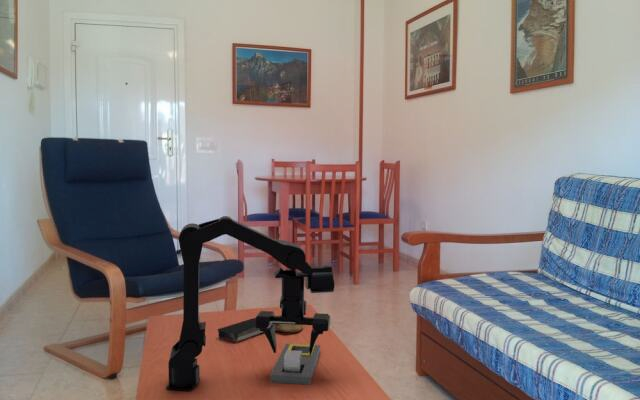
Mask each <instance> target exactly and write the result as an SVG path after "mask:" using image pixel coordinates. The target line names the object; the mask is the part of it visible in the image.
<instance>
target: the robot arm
mask: <svg viewBox="0 0 640 400" xmlns="http://www.w3.org/2000/svg"><path fill="white" fill-rule="evenodd" d="M225 235H227V236H229V237H231V238H234V239H235V240H238V241H240V242H242V243H244V244H247V245H249V246H251V247H252V248H255V249H257V250H260V251H262V252H264V253H266V254H268V255H269V256H271V257H272V258H273V259H274V260H276V261H277V262H278V263H280V264H281V265H282V266H283V267H284V266H285V267H286V268H287V269H284V268H283V267H282V266H279V267H278V269H276V271H275V272H273V275H274V278H275V279H281V296H280V301H279V308H280V309H281V315H282V316H278V315H275V312H274V311H270V310H267V311H266V310H260V311H259V312H258V314H256V316H255V317H254V318H255V328H260V331H263V332H262V333H263V334H264V336H265V337H266V339H267V341H268V342H269V345H270V347H271V349H272V352H273V354H277V336H276V330H275V324H295V325H303V326H312V327H311V328H312V329H311V332H310V338H309V339H310V340H309V345H310V348H309V354H310V355H311V354H312V350H313V347H314V345H316V344H315V343H316V342H317V339H318V337H319V335H323V334H324V332H328V331H329V329H330V326H331V316H330V314H328V313H319V312H318V313H317V312H316V313H314V315H313V317H308V316H307V315H306V314H307V301H306V300H305V288H306V290H309V292H310V294H316V293H317V294H320V293H323V294H324V293H334V291H335V280H334V273H333V267H332V266H331V265H329V264H326V265H321V266H312V265H311V264H310V263H309V262H307V260H306V259H307V258H306V257H307V256H306V254H305V251H304V250H303V249H302V247H301V246H300V245H298V244H297V243H295V242H291V241H287V240H283V239H278V238H273V237H271V236H268V235H267V234H265V233H262V232H260V231H258V230H256V229H254V228H251V227H250V226H247V225H245V224H243V223H241V222H239V221H237V220H234V219H232V217H231V216H228V215H225V216H224V215H223V216H221V217H220V218H216V219H212V220H209V221H205V222H202V223H200V224H197V223H187V224H186V225H184V226H183V227H182V229H181V231H180V233H179V235H178V244H179V250H180V254H181V259H182V262H183V263H182V264H183V307H182V309H183V315H182V316H183V318H182V319H183V320H182V325H181V330H180V335H179V340H178V341H177V342H176V343H175V344H174V345H172V347H171V350H170V355H169V360H168V368H167V369H168V384H167V385H166V386H165V389H166V390H168V391H169V390H170V391H187V392H189V391H193V389H194V388H195V387H196V386H197V385H198V384H199V382H200V381H201V377H200V365H199V364H198V358H197V357H199V355H201V354H202V352H203V346H204V347H206V344H207V343H206V341H207V340H206V339H207V336H206V335H207V334H206V326H207V322H206V321H202V322H201V318H200V312H199V310H200V303H199V302H200V260H201V257H202V256H201V255H202V249H203V246H204V245H203V244H205V243H208V242H210V241H213V240H215V239H217V238H219V237H220V238H221V236H225ZM296 270H298V271H300V272H298V271H296Z"/></svg>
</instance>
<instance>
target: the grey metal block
mask: <svg viewBox="0 0 640 400" xmlns="http://www.w3.org/2000/svg"><path fill="white" fill-rule="evenodd" d="M284 372H288V373H302V351H293V350H287V351H286V353H285V355H284Z"/></svg>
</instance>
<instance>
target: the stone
mask: <svg viewBox="0 0 640 400" xmlns="http://www.w3.org/2000/svg"><path fill="white" fill-rule="evenodd" d="M277 316H282V314H279V315H277ZM303 326H304V325H295V324H275V331H277V332H281V333H282V332H284V333H296V332H297V333H298V332H300V331H301V330H302V329H303Z"/></svg>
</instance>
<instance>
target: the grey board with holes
mask: <svg viewBox="0 0 640 400" xmlns="http://www.w3.org/2000/svg"><path fill="white" fill-rule="evenodd" d="M309 348H310V344H301V343H299V344H298V343H285V345H284V347H283V349H282V351H281V353H280V354H279V357H278V359H277V361H276V362H275V365H274V366H273V368H272V371H271V373H270V375H269V376H270V377H269V378H270V381H269V382H270V383H271V384H273V383H274V384H288V385H289V384H293V385H306V386H307V385H311V382H312V380H313V378H314V377H313V376H314V373H315V370H316V367H317V363H318V360H319V357H320V354H321V345H320V344H319V345H318V344H317V345H316V344H314V347H313V350H312V354H311V355H310V354H309ZM287 350H293V351H302V373H288V372H284V355H285V353H286V351H287Z"/></svg>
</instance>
